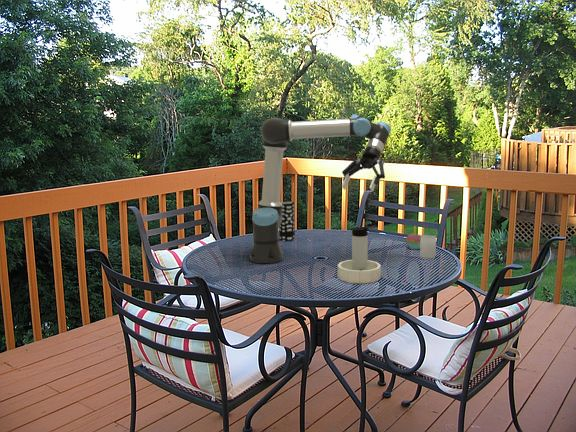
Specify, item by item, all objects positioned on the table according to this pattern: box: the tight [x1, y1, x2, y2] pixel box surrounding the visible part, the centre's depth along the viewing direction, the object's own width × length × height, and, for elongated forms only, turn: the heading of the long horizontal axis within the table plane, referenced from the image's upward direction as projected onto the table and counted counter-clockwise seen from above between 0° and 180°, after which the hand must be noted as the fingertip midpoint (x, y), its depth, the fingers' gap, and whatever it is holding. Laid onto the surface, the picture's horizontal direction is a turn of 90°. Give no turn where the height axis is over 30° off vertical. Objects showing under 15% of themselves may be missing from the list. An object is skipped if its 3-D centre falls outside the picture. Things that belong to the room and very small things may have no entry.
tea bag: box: [419, 234, 437, 259], centre depth 249 cm, size 4×7×10 cm, turn 69°
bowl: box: [337, 259, 382, 285], centre depth 222 cm, size 17×17×5 cm
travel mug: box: [351, 226, 369, 271], centre depth 220 cm, size 6×7×20 cm
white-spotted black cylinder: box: [278, 201, 296, 242], centre depth 287 cm, size 8×8×20 cm
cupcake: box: [405, 226, 422, 250], centre depth 265 cm, size 9×8×12 cm
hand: (357, 188), depth 235 cm, fingers open, 13 cm apart
